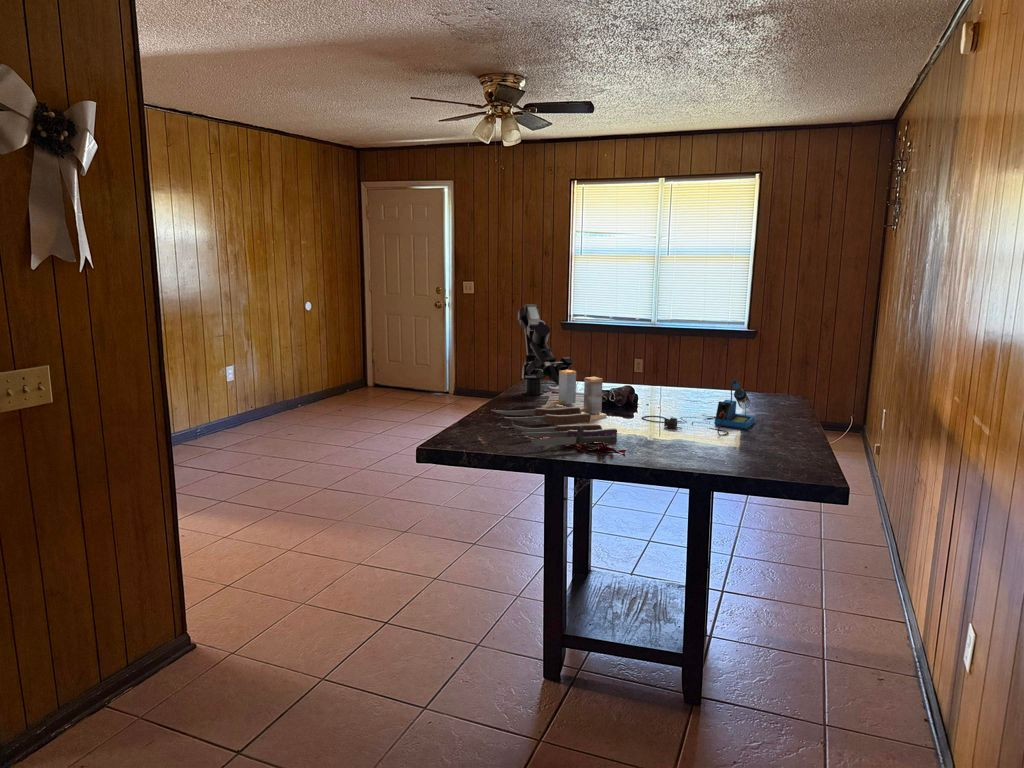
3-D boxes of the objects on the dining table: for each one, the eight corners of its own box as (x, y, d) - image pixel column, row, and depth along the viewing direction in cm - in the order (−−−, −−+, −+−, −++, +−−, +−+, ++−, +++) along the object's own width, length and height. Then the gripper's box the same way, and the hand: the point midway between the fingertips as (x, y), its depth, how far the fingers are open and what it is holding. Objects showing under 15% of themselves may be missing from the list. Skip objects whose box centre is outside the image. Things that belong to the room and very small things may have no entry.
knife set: (488, 423, 230) (489, 400, 229) (579, 421, 241) (581, 399, 240) (524, 455, 198) (526, 429, 196) (627, 451, 209) (630, 426, 207)
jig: (541, 408, 257) (542, 371, 254) (564, 405, 263) (565, 369, 260) (582, 421, 238) (583, 381, 236) (606, 417, 244) (607, 378, 242)
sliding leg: (547, 405, 254) (547, 372, 251) (567, 402, 259) (568, 369, 257) (554, 408, 250) (555, 373, 248) (575, 404, 256) (576, 371, 253)
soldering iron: (630, 424, 236) (633, 371, 232) (661, 407, 262) (664, 359, 259) (736, 440, 218) (741, 383, 215) (757, 420, 245) (762, 368, 241)
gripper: (551, 361, 275) (568, 394, 269) (512, 365, 265) (529, 399, 258) (564, 344, 268) (582, 377, 261) (525, 347, 257) (543, 381, 250)
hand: (559, 384), depth 258 cm, fingers closed
